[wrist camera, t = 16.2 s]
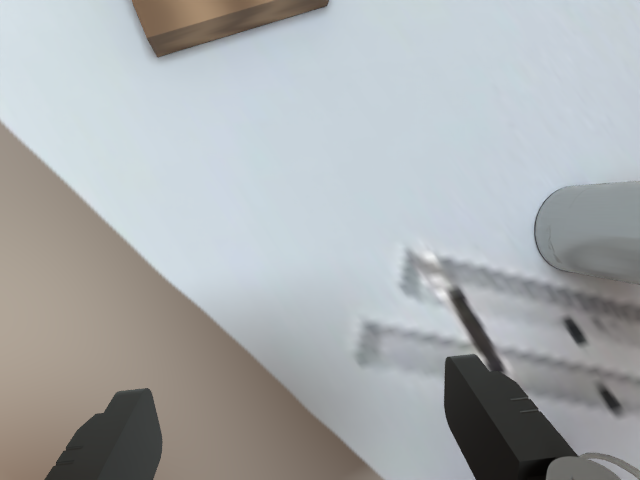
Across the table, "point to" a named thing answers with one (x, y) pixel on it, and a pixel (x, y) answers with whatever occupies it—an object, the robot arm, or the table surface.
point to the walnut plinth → (210, 19)
